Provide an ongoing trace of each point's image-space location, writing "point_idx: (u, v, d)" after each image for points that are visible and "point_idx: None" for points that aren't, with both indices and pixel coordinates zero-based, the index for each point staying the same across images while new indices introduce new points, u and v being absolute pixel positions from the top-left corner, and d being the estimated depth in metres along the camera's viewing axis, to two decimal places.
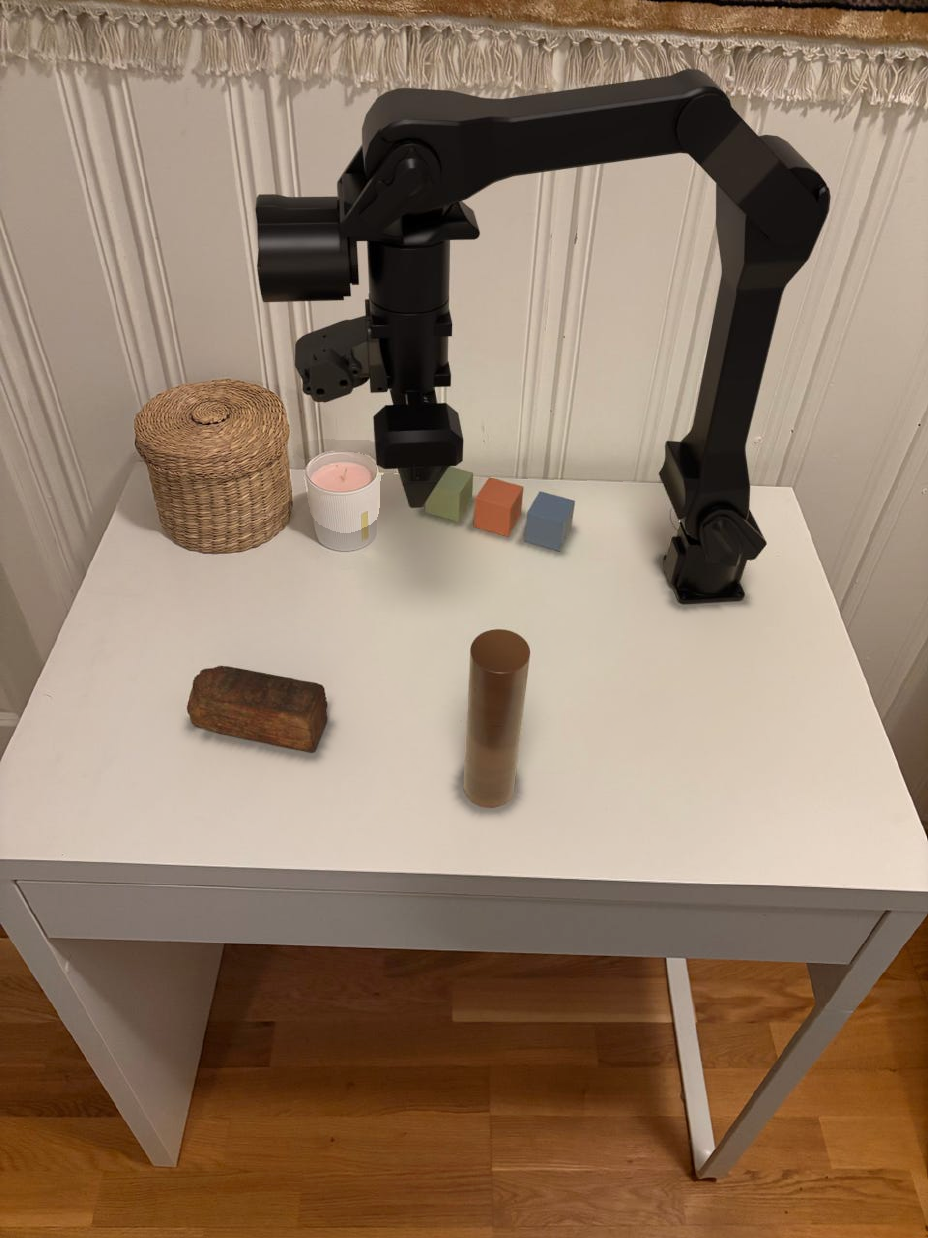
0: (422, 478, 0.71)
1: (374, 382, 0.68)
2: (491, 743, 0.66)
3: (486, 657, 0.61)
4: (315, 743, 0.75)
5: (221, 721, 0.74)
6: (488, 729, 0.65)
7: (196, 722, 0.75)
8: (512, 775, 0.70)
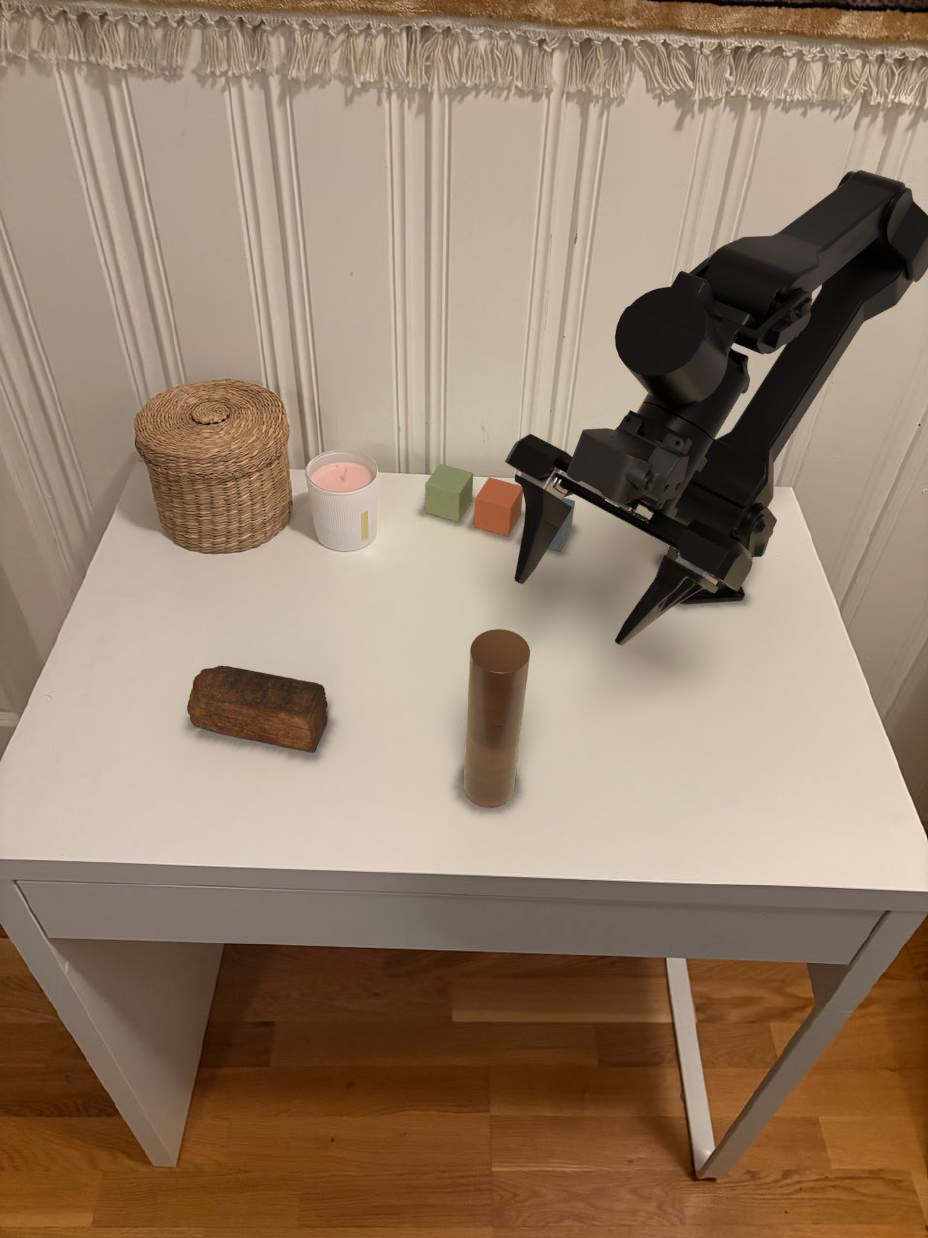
0: (660, 608, 0.65)
1: None
2: (491, 743, 0.66)
3: (486, 657, 0.61)
4: (315, 743, 0.75)
5: (221, 721, 0.74)
6: (488, 729, 0.65)
7: (196, 722, 0.75)
8: (512, 775, 0.70)
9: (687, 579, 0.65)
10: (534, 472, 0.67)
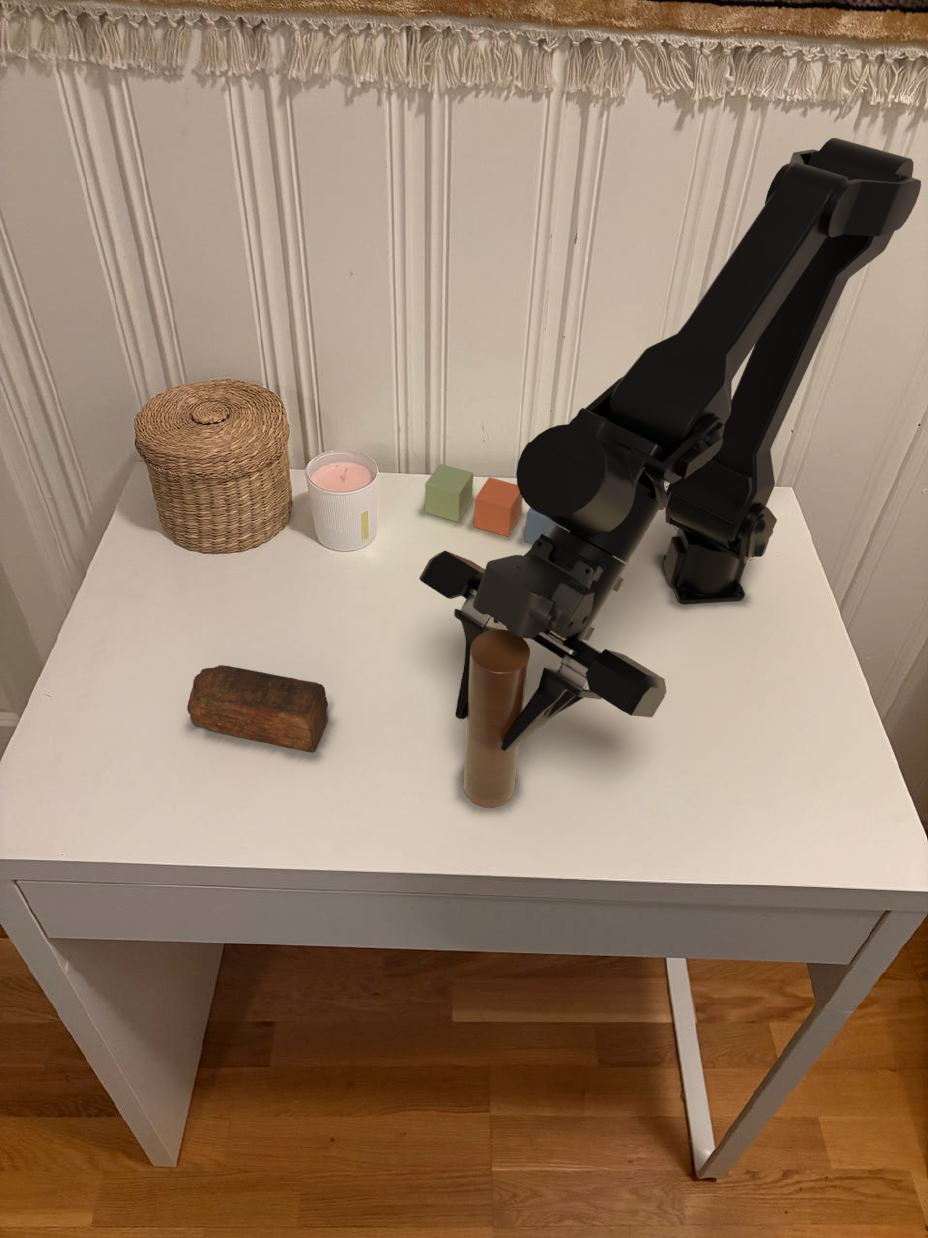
0: (545, 715, 0.65)
1: None
2: (491, 743, 0.66)
3: (486, 657, 0.61)
4: (315, 743, 0.75)
5: (221, 720, 0.75)
6: (488, 730, 0.65)
7: (196, 721, 0.75)
8: (512, 775, 0.70)
9: None
10: (447, 592, 0.66)
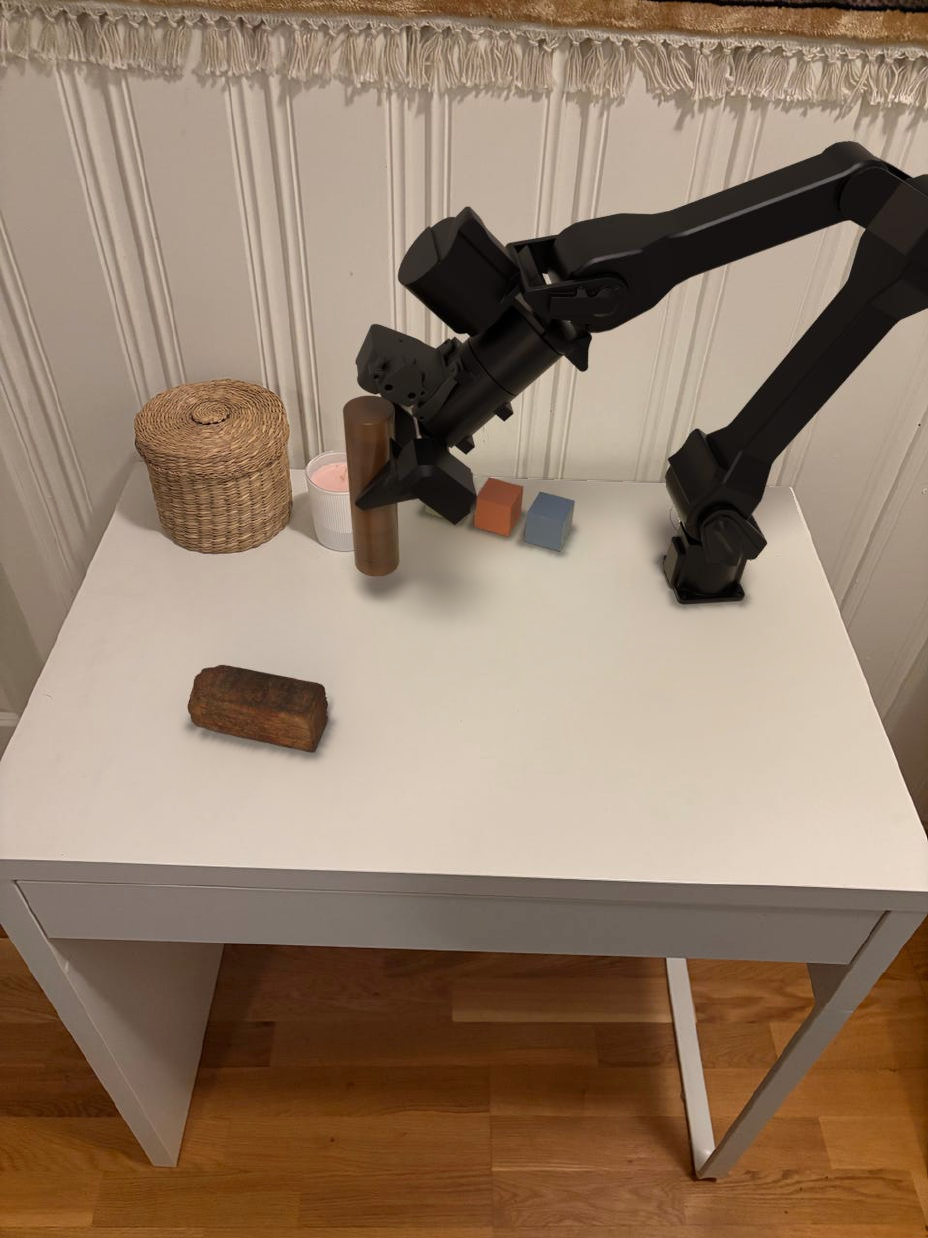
0: (394, 491, 0.74)
1: (423, 410, 0.69)
2: (353, 497, 0.76)
3: (353, 408, 0.72)
4: (315, 743, 0.75)
5: (221, 720, 0.75)
6: (351, 481, 0.75)
7: (197, 721, 0.75)
8: (379, 549, 0.80)
9: None
10: None
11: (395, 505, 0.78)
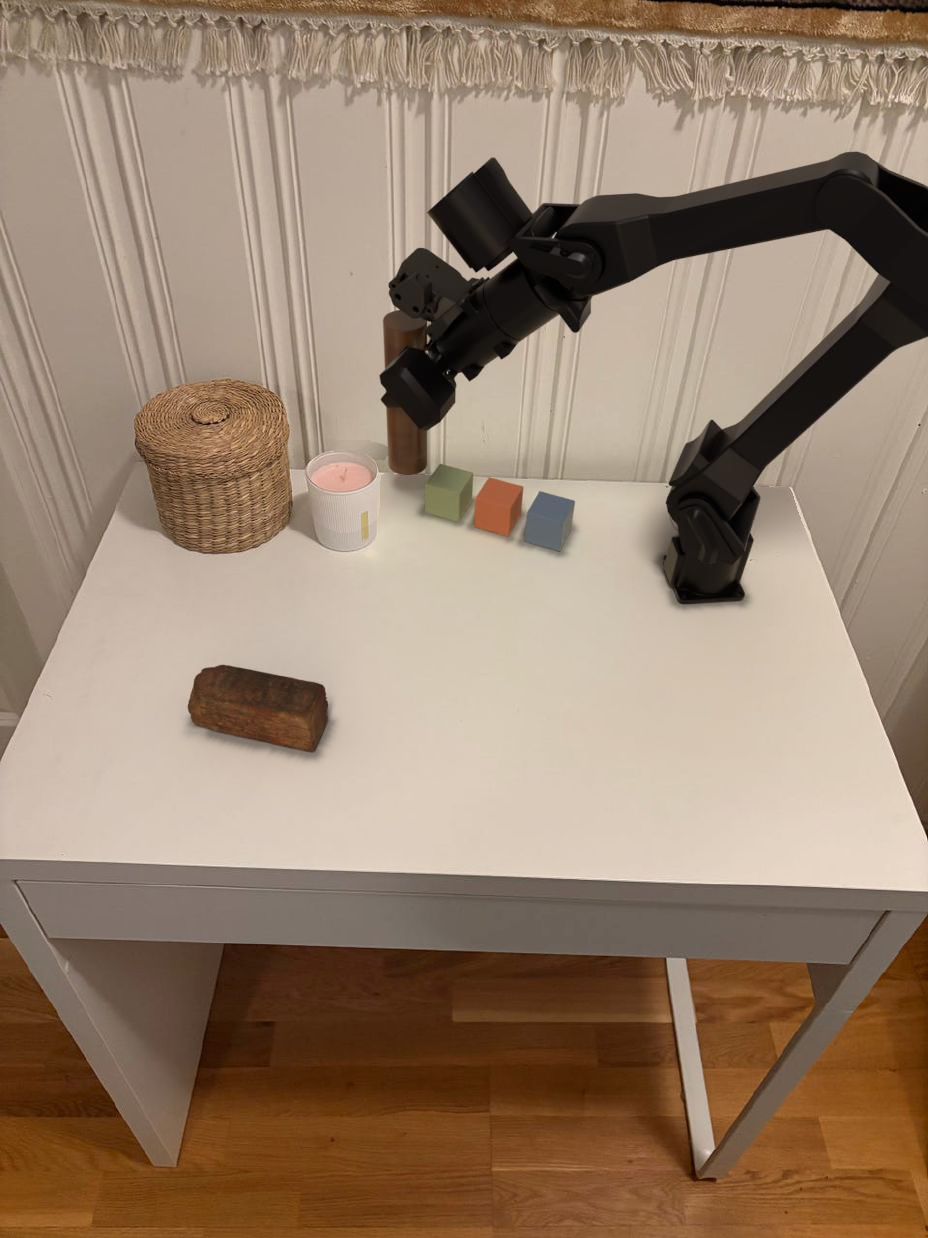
0: None
1: (432, 328, 0.80)
2: None
3: (394, 315, 0.84)
4: (315, 743, 0.75)
5: (221, 720, 0.75)
6: None
7: (197, 721, 0.75)
8: (400, 449, 0.92)
9: None
10: None
11: None
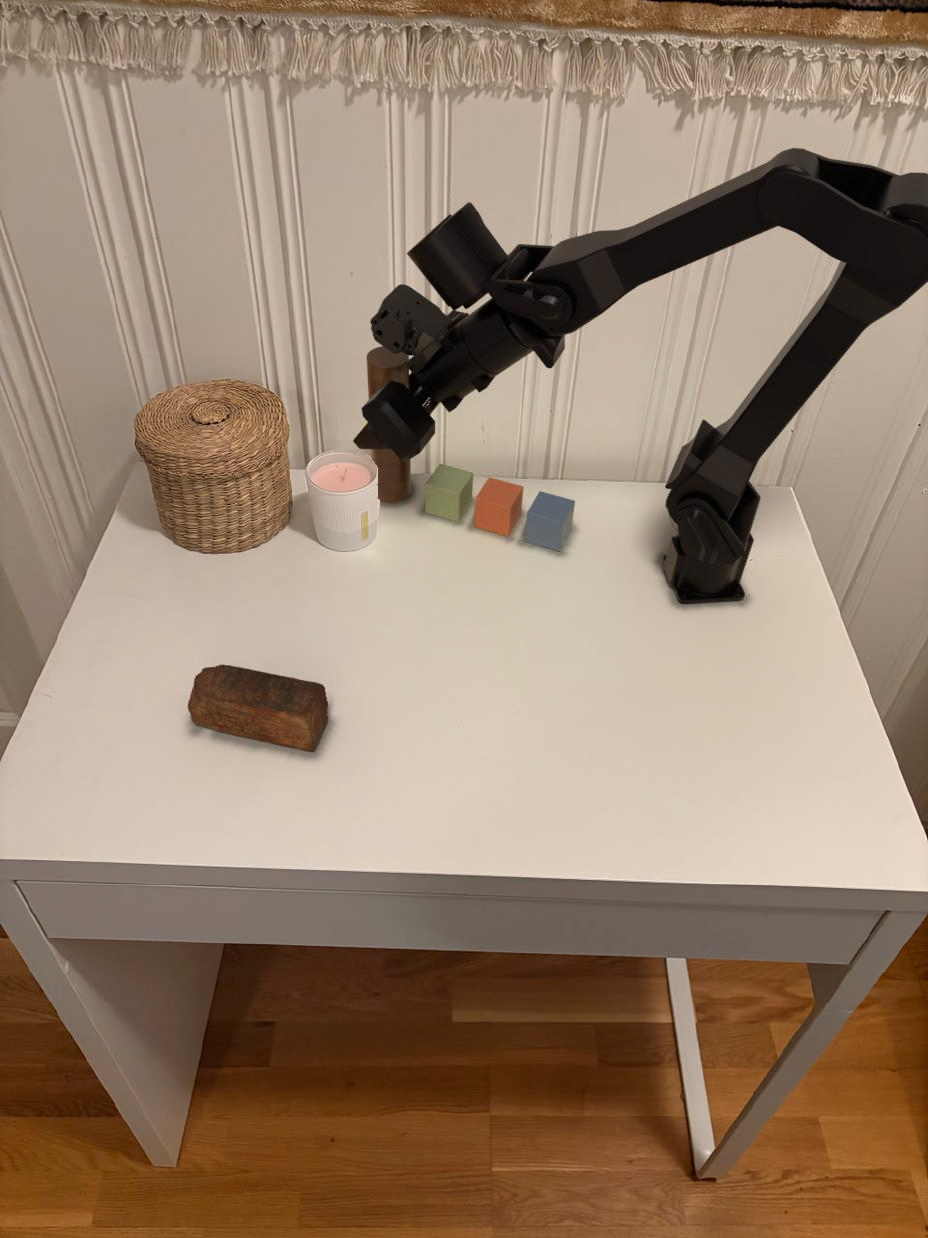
0: (377, 438, 0.87)
1: (413, 362, 0.83)
2: None
3: (378, 352, 0.88)
4: (315, 743, 0.75)
5: (221, 720, 0.75)
6: None
7: (197, 721, 0.75)
8: (384, 477, 0.95)
9: None
10: None
11: None
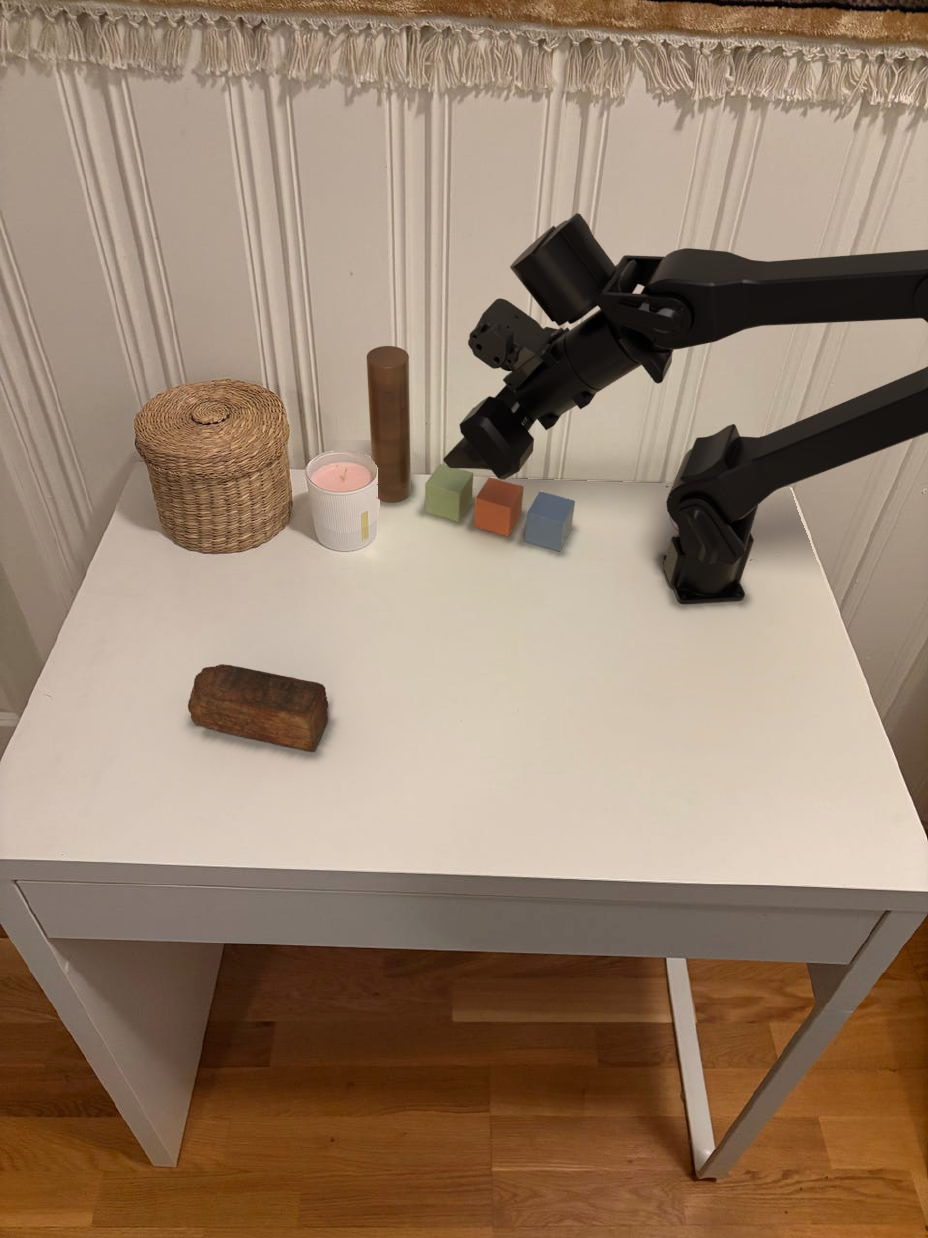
0: (470, 456, 0.84)
1: (511, 378, 0.80)
2: (370, 426, 0.93)
3: (378, 352, 0.88)
4: (315, 743, 0.75)
5: (221, 719, 0.75)
6: (369, 412, 0.92)
7: (197, 720, 0.76)
8: (384, 477, 0.95)
9: None
10: None
11: (402, 444, 0.93)
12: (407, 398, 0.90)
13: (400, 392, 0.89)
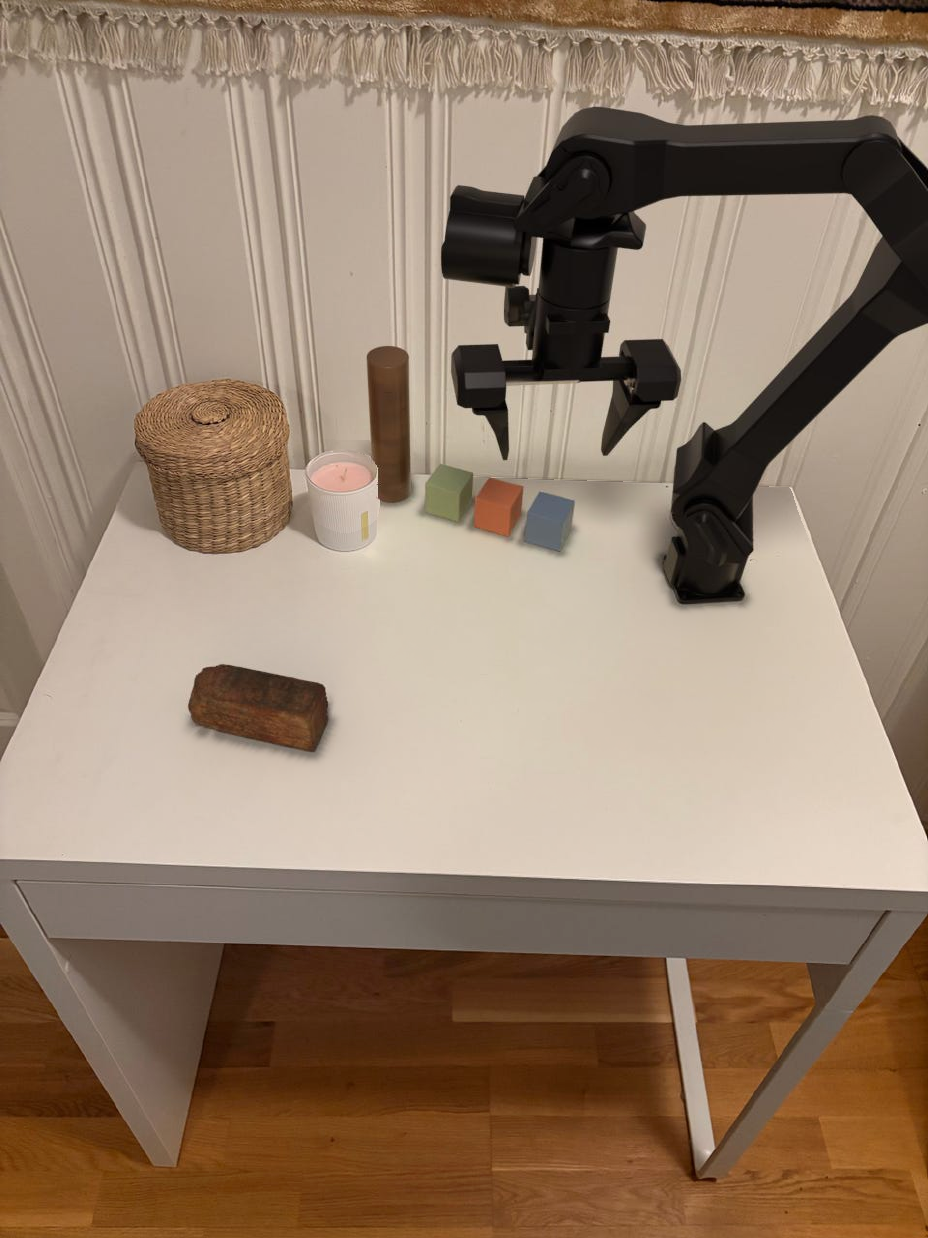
0: None
1: (526, 335, 0.78)
2: (370, 426, 0.93)
3: (378, 352, 0.88)
4: (315, 743, 0.75)
5: (221, 719, 0.75)
6: (369, 412, 0.92)
7: (197, 720, 0.76)
8: (384, 477, 0.95)
9: None
10: None
11: (402, 444, 0.93)
12: (407, 398, 0.90)
13: (400, 392, 0.89)
